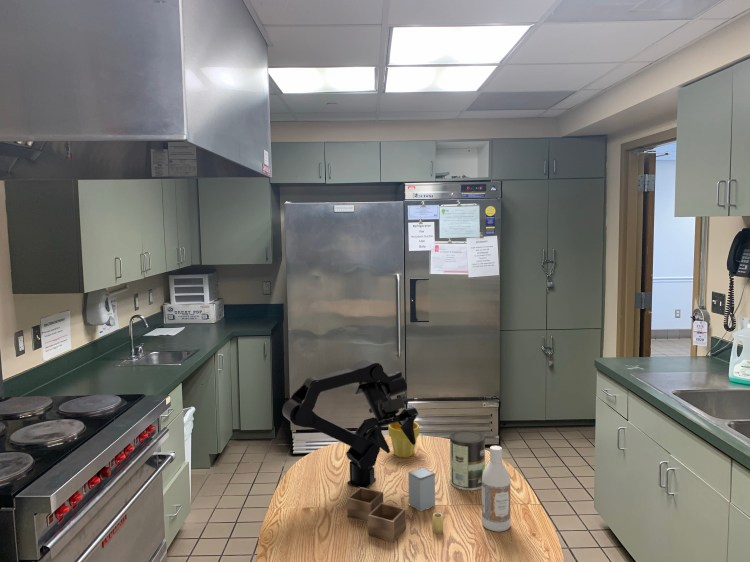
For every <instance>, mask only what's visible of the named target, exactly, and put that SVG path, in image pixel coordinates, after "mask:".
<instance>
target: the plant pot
mask: <svg viewBox="0 0 750 562" xmlns="http://www.w3.org/2000/svg"><path fill="white" fill-rule="evenodd" d="M401 426H402V425H400V424H399V423H398V422H397V423H393V424H390V425H388V431H387V433H388V436H389V437H390V440H391V446H392V450H393V454H394V455H395V456H396V457H400V458H408V457H411V456H413V455H414V452H415V447H416V444H415V445H413V444H412V443H411V442H410V441H409V439H408V438H407V436H406V435H405V434H404V432H403V431H402V429H401V428H400V427H401ZM413 428H414V435H415V441H416V442H417V439H418V437H419V436H420V425H419V423H417V422H416V421H414V423H413Z"/></svg>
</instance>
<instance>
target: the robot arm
mask: <svg viewBox="0 0 750 562" xmlns="http://www.w3.org/2000/svg"><path fill="white" fill-rule="evenodd" d="M357 383H358V384H357ZM351 384H357V389H356V390H355V394H356V395H359V394H363V395H364V398H365V400H366V401H367V403H368V405H369V409H368V411H369V412H368V413H370V414H373V416H374V417H370V418H366V419H364V420H363V421H362V422H361V424H360V425H359V426H358V427H356V429H355V431H351V430H348V429H347V428H345V427H344V426H341V425H339V424H337V423H335V422H333V421H330V420H329V419H327V418H324V417H323V416H321V415H319V414H317V413H316V412H314V408H315V407H316V406H315V405H316V403H317V401H318V397H319V395H320V394H321V393H323V392H326V391H330V390H333V389H337V388H340V387H345V386H348V385H349V386H350V385H351ZM407 390H408V384H407V382H406V380H405V378H404V376H403V374H402V372H401V371H399V370H396V371H394V372H392V373H389V374H387V373H386V372H385V371H384V367H383V366H382V364H380V363H379V362H376V361H374V360H372V359H369V358H364V359H362V360H361V361H359V362H356V363H355V364H353V365H352V366H350V367H349V368H344V369H341V370H338V371H333V372H330V373H326V374H321V375H319V376H318V375H317V376H314V377H313V376H312V377H311V376H310V377H308V378H306V380H304V382H303V383H302V385H301V386H299V388H298V389H297V390H295V391H294V392H293V393H292V395H291V397H290V398H289V399H288V400H287V401H285V403H284V404H283V406H282V411H281V412H282V415H283V417H285V418H286V419H287V420H288V421H289V422H291V424H293V425H294V426H297V427H301V428H306V429H307V428H308V429H314V430H316V431H318V432H319V433H322V434H324V435H326V436H328V437H330V438H333V439H335V440H337V441H339V442H341V443H343V444H345V445H348V446H349V448H348V449H347V451H346V453H345V454H346V455H345V456H346V457H347V460H349V480H348V481H347V482H346V484H347V485H348V486H349V485H350V486H354V487H357V488H360V487H363V488H367V489H368V488H369V486H371V485H372V484H373V483H374V482H375V481H376V480H377V479H376V477H375V467H374V466H375V465H376V462H377V459H378V455H379V453H380V452H381V450H383V451H384V452H385V453H387V454H389V453H391V450H390V447H389V444H388V443H387V440H386V439H385V437H384V434H383V432H382V427H385V426H389V425H390V424H393V423H397V422H398V423H399V424H400V425H402V426H401V427H400V428H401V429H402V431H403V432H404V434H405V435H406V436H407V438H408V439H409V441H410V442H411V443H412V444H413V445H415V446H416V443H417V440H416V441H415V435H414V428H413V423H414V422H415V420H417V416H418V415H419V414H420V413H419V411H418V410H417V407H414V406H411V407H407V408H406V405H408V404H409V400H408V397H407V395H406V394H405V393H407ZM395 396H396V398H392V397H395ZM400 409H403V410H402V411H401V412H400ZM399 412H400V413H399ZM398 413H399V414H398Z"/></svg>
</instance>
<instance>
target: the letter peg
mask: <svg viewBox="0 0 750 562" xmlns="http://www.w3.org/2000/svg"><path fill="white" fill-rule="evenodd" d="M443 518H444V516H443V514H442V513H440V512H435V513H433V514H432V532H433V533H434V534H442V533H443V531H444V525H443V523H444V519H443Z"/></svg>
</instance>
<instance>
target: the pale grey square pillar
mask: <svg viewBox="0 0 750 562" xmlns="http://www.w3.org/2000/svg"><path fill="white" fill-rule="evenodd" d="M409 504H410V505H409ZM408 505H409V506H410V507H412V506H413V507H412V508H414V507H415V508H416V510H417V509H418V510H417V511H419V512H420V511H421V512H423V511H426V510H428V509H430V508H433V507H435V506H436V474H435V472H433V471H431V470H429V469H427V468H425V467H420V468H417V469H415V470H412V471H409V472H408ZM434 505H435V506H434ZM432 506H433V507H432ZM415 508H414V509H415ZM427 508H428V509H427ZM425 509H426V510H425Z"/></svg>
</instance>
